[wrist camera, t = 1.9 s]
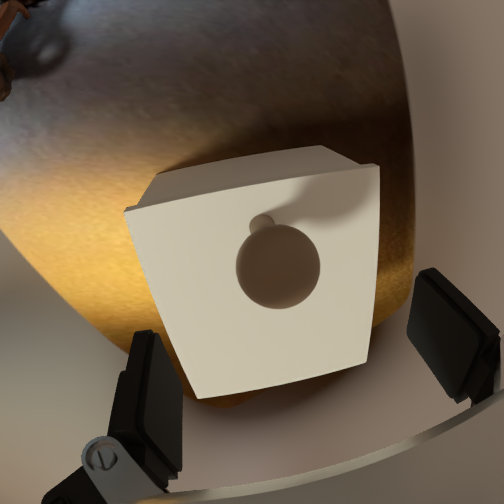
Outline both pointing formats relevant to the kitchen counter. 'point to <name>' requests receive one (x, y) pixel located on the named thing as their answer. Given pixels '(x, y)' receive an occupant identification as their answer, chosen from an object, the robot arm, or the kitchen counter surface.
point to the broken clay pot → (3, 17)
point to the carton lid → (264, 275)
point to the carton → (242, 171)
